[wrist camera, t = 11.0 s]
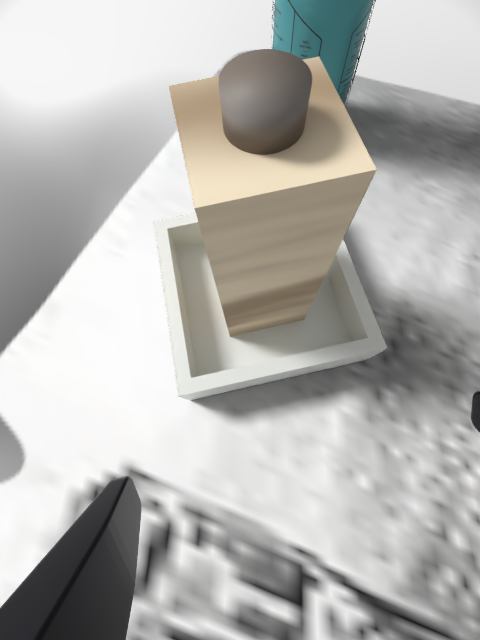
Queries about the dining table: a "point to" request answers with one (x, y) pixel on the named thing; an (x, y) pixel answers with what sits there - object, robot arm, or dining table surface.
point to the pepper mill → (270, 181)
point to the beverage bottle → (324, 34)
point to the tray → (262, 345)
